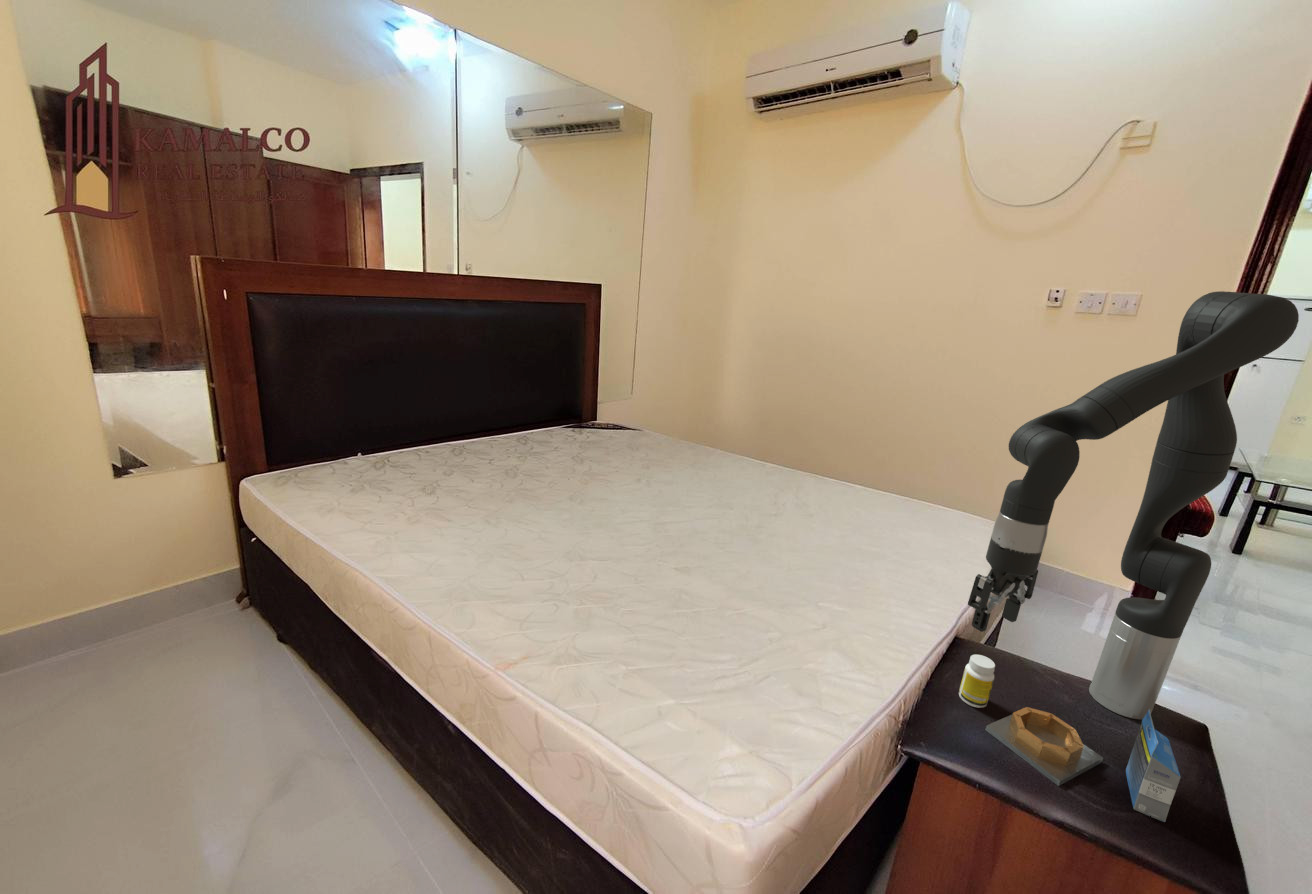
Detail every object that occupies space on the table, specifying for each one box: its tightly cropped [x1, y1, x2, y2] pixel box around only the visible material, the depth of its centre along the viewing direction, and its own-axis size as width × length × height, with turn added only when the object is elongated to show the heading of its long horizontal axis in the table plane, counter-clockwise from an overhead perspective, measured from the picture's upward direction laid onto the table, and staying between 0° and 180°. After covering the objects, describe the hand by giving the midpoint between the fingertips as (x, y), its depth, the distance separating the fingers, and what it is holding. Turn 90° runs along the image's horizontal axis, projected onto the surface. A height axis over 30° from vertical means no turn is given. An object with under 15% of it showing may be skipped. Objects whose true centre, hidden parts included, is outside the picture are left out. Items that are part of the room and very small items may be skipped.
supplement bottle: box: [958, 654, 996, 709], centre depth 101 cm, size 5×5×8 cm
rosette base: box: [985, 706, 1104, 787], centre depth 92 cm, size 12×12×4 cm
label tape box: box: [1125, 709, 1182, 823], centre depth 83 cm, size 9×4×12 cm, turn 146°
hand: (993, 624), depth 98 cm, fingers open, 8 cm apart
